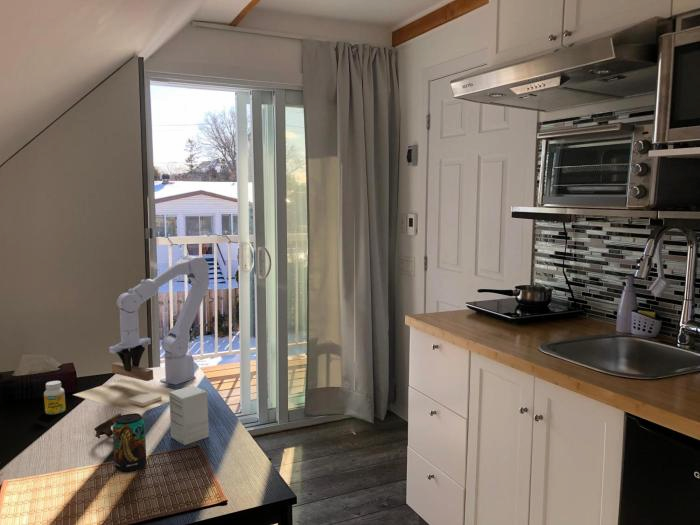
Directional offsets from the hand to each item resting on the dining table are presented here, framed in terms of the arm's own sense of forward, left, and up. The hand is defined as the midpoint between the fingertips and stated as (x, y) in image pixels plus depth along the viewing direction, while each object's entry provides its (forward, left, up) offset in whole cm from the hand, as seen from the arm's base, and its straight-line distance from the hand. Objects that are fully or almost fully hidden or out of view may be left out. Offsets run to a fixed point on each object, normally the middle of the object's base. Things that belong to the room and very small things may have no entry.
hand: (131, 369), depth 189 cm
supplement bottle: (+26, -1, -7) cm, 27 cm away
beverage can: (+36, +47, -7) cm, 60 cm away
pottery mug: (+28, +32, -7) cm, 43 cm away
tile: (+7, +15, -5) cm, 17 cm away
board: (+5, +6, -7) cm, 10 cm away
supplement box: (+17, +46, -7) cm, 50 cm away
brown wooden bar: (0, 0, -2) cm, 2 cm away
